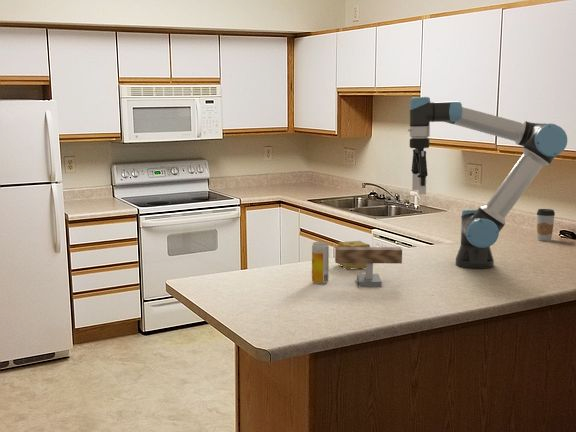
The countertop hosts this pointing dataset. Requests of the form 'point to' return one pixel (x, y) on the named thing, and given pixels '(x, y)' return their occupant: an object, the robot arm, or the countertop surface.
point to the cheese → (353, 244)
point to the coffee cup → (545, 224)
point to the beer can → (320, 262)
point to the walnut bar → (368, 255)
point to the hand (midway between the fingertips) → (419, 192)
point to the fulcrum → (369, 278)
